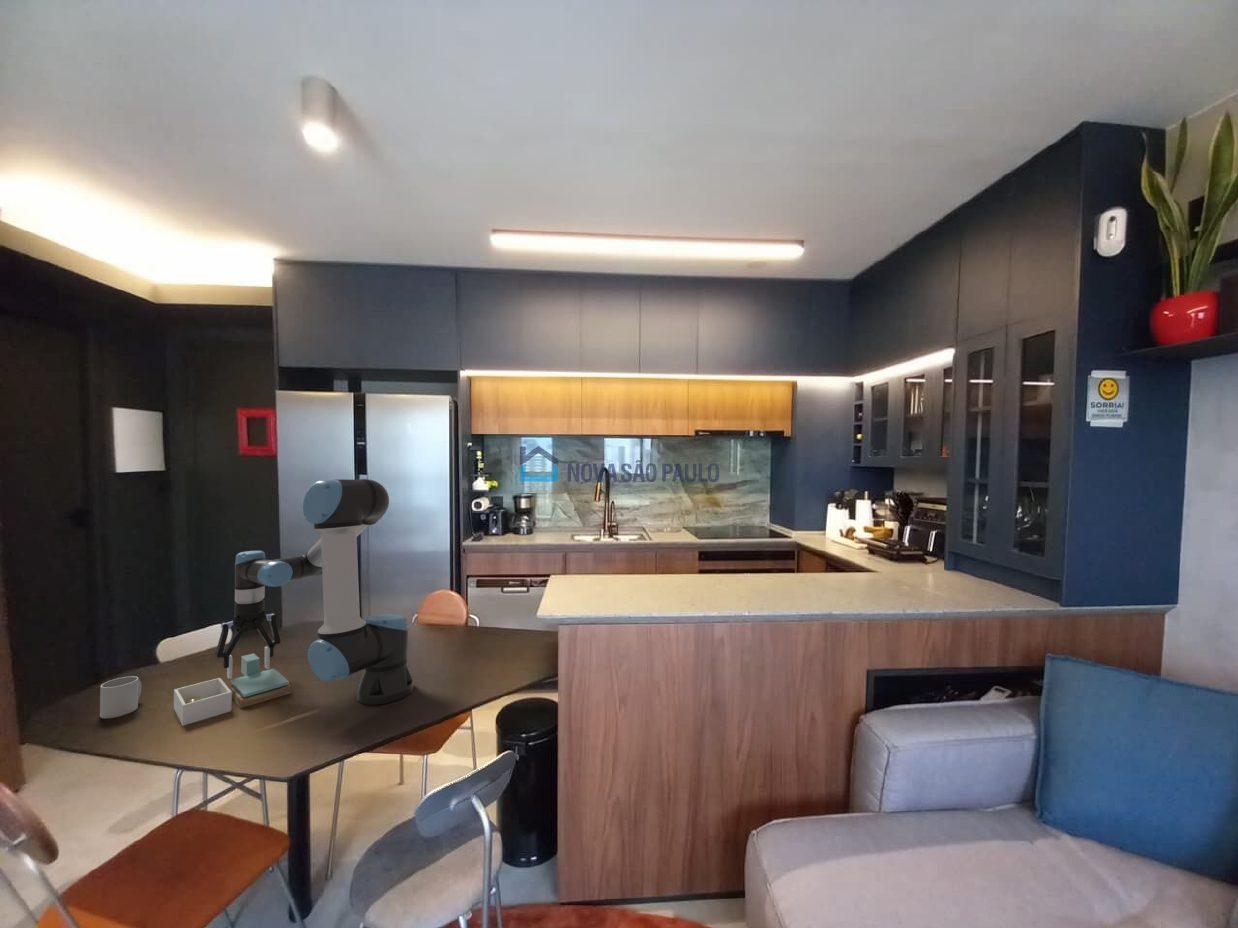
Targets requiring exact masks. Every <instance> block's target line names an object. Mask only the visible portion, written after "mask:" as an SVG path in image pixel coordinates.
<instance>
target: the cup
mask: <svg viewBox="0 0 1238 928" xmlns="http://www.w3.org/2000/svg"><path fill="white" fill-rule="evenodd" d="M99 693H100V694H99V701H100V702H99V718H100V719H113V718H117V717H118V718H119V717H121V716H126V715H128V714H130V713H132V712H134V711H136V710H137V709H138V708H139V698H140V695H141V693H142V682H141V680H140V679H139V677H138V676H135V675H131V676H124V677H123V676H122V677H118V678H114V679H112V680H111V679H110V680H108V681H106V682H104V683H102V684H101V685H100V692H99Z"/></svg>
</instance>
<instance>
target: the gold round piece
mask: <svg viewBox="0 0 1238 928" xmlns="http://www.w3.org/2000/svg"><path fill="white" fill-rule="evenodd" d="M198 700H200V697H194V698H191V699H188V700H187V703H190V702H194V701H198Z"/></svg>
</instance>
